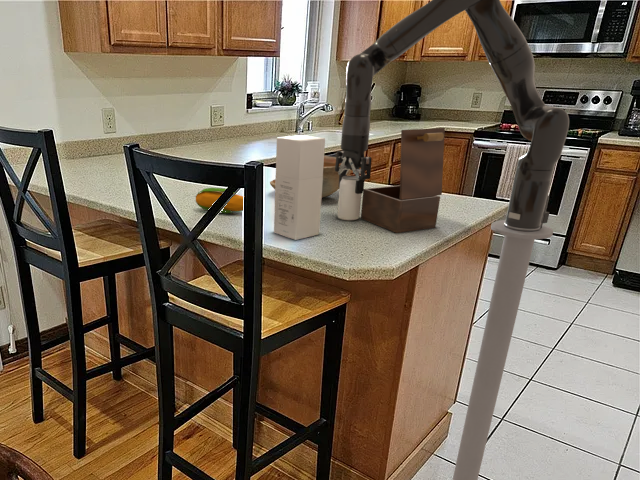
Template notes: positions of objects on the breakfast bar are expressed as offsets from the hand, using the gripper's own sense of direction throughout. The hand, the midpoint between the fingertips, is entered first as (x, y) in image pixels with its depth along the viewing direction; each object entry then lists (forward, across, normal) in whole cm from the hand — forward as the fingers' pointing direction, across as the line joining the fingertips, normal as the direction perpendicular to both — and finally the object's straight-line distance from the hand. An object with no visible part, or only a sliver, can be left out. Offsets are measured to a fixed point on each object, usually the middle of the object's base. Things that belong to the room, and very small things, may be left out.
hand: (350, 190), depth 153 cm
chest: (+8, +10, +10) cm, 16 cm away
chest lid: (-10, +17, +10) cm, 22 cm away
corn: (+9, -21, -31) cm, 38 cm away
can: (+8, 0, 0) cm, 8 cm away
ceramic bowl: (+8, -30, +5) cm, 32 cm away
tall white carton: (+8, +8, -22) cm, 25 cm away
